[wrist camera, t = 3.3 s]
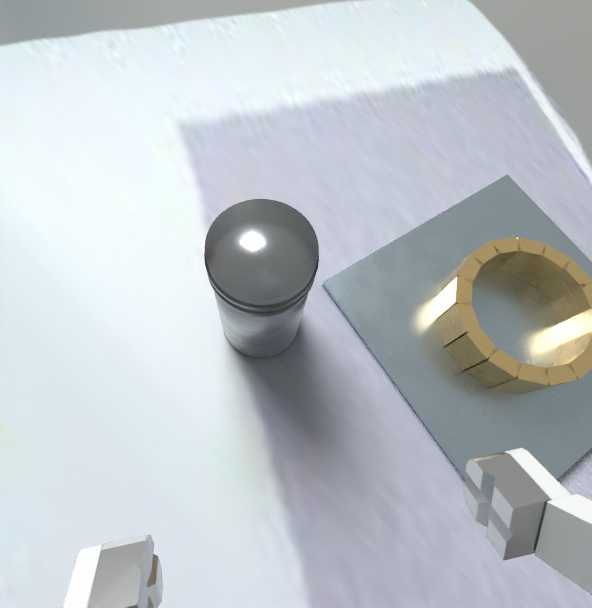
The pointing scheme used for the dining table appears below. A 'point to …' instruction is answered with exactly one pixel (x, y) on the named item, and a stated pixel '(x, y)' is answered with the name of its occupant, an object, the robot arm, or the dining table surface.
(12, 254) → the dining table surface
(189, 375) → the dining table surface
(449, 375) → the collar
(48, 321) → the dining table surface
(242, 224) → the cylinder
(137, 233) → the dining table surface
